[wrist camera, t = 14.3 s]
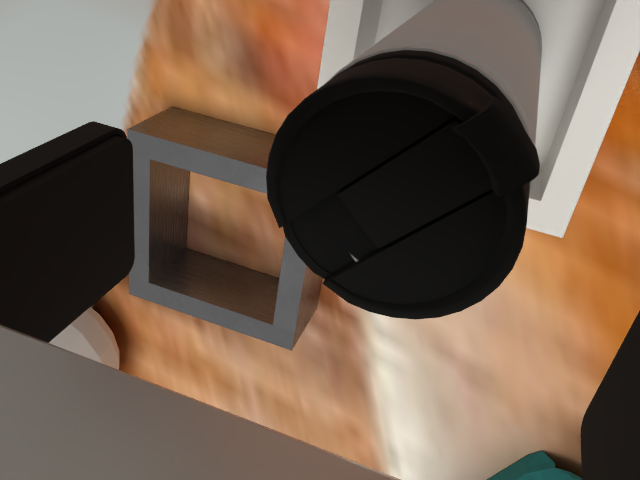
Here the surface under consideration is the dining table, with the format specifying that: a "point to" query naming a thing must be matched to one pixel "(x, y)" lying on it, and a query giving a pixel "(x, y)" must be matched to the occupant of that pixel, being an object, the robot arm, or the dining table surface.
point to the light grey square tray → (554, 91)
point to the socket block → (171, 230)
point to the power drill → (534, 470)
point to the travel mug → (417, 161)
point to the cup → (90, 339)
